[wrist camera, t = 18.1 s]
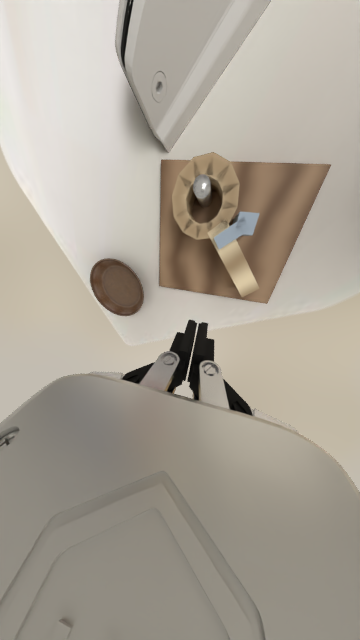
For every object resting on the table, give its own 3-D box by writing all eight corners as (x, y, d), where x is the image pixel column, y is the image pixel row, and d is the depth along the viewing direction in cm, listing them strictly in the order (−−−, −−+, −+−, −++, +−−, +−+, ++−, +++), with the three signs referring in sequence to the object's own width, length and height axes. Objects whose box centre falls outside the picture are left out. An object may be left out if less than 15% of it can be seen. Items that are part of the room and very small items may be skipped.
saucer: (87, 261, 36) (79, 263, 34) (138, 252, 32) (132, 254, 30) (110, 312, 43) (104, 316, 41) (153, 310, 39) (149, 315, 37)
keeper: (247, 220, 25) (259, 213, 18) (239, 249, 27) (247, 252, 20) (218, 217, 25) (218, 209, 18) (212, 246, 28) (211, 248, 21)
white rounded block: (166, 155, 23) (117, 74, 14) (152, 132, 23) (93, 38, 14) (275, -6, 15) (315, -421, 6) (251, -39, 15) (258, -490, 6)
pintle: (213, 192, 24) (211, 174, 17) (210, 208, 25) (208, 197, 18) (200, 191, 24) (194, 173, 17) (198, 207, 25) (192, 196, 19)
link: (171, 203, 25) (160, 194, 20) (217, 156, 21) (217, 130, 16) (224, 294, 31) (225, 305, 26) (267, 271, 27) (279, 278, 22)
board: (326, 167, 20) (331, 164, 19) (265, 301, 31) (267, 303, 30) (163, 162, 23) (161, 159, 23) (160, 284, 34) (159, 285, 33)
